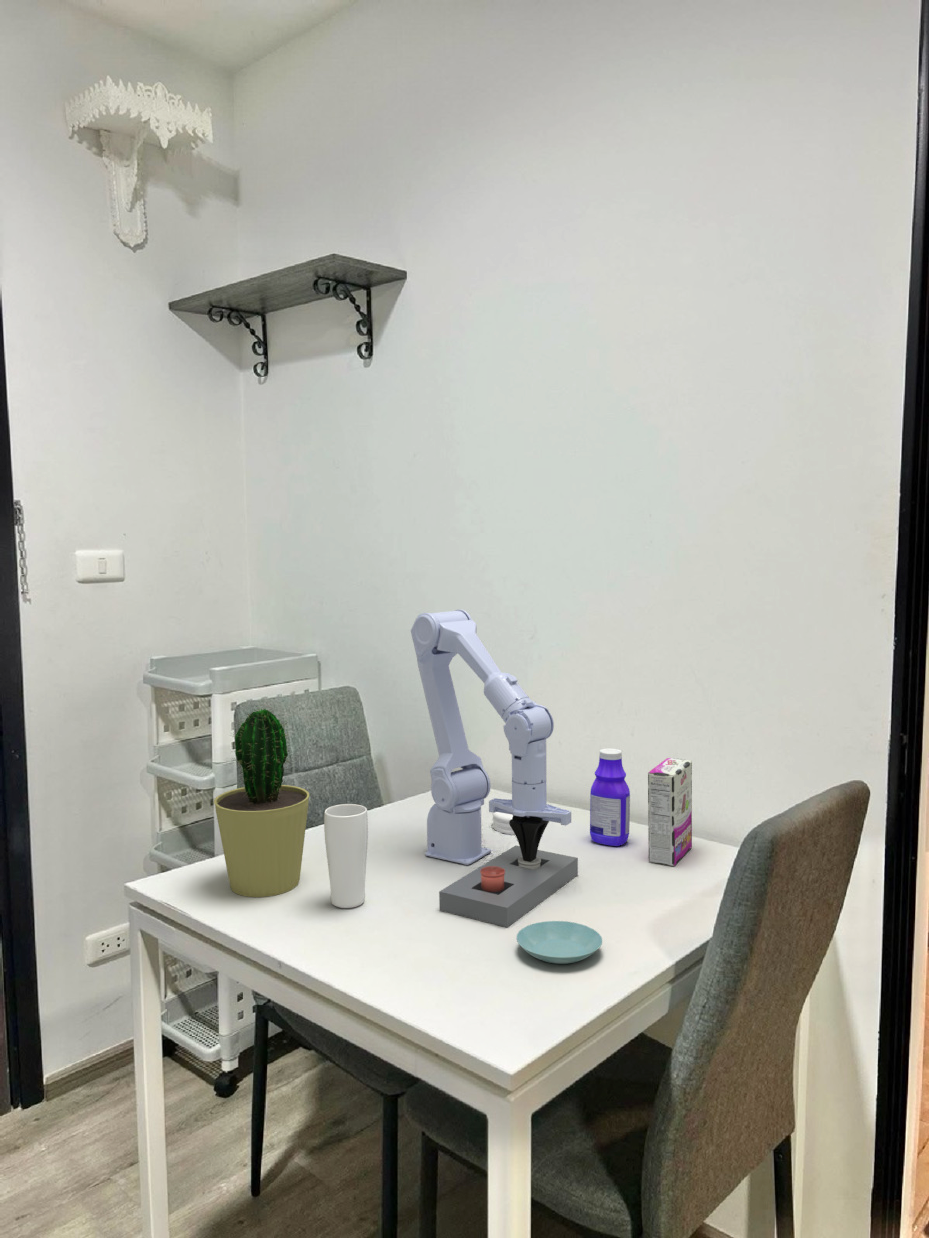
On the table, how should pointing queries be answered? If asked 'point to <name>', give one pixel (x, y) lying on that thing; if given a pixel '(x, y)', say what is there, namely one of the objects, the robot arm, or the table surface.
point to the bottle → (610, 800)
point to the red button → (492, 878)
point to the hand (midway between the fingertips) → (529, 859)
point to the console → (508, 888)
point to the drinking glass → (346, 853)
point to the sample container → (530, 863)
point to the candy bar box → (670, 811)
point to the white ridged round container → (502, 823)
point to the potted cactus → (262, 813)
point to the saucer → (559, 941)
